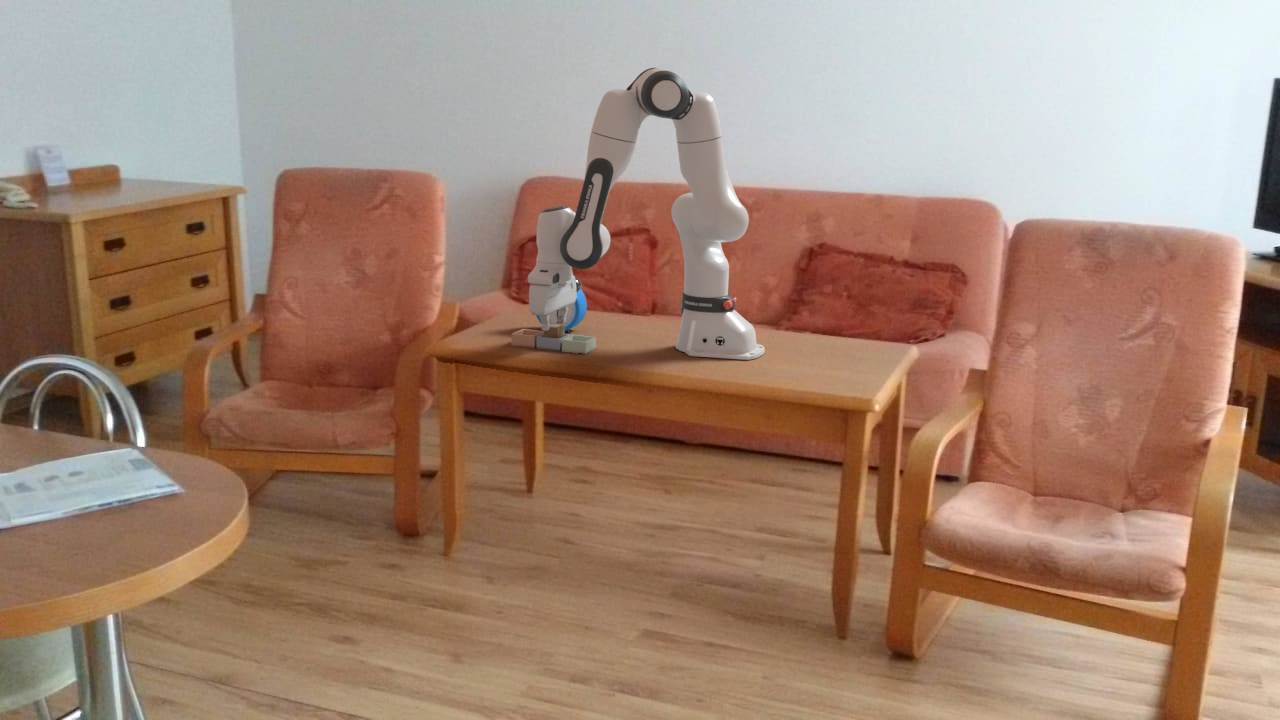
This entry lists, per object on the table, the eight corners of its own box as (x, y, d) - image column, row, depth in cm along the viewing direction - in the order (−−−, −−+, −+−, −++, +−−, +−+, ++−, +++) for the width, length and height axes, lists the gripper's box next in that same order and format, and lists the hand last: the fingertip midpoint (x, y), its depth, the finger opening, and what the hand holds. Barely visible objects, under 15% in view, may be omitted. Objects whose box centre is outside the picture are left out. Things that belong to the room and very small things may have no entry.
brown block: (550, 342, 286) (550, 323, 285) (564, 344, 285) (564, 324, 283) (543, 346, 282) (543, 326, 281) (557, 347, 281) (557, 328, 280)
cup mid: (570, 345, 285) (570, 334, 285) (559, 351, 280) (559, 339, 279) (547, 343, 288) (547, 331, 287) (536, 348, 282) (536, 336, 281)
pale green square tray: (595, 348, 283) (596, 337, 282) (585, 354, 277) (585, 342, 277) (572, 346, 285) (572, 334, 285) (561, 351, 279) (562, 339, 279)
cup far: (545, 342, 288) (545, 331, 287) (534, 348, 282) (534, 336, 281) (523, 340, 290) (523, 328, 289) (511, 345, 284) (511, 333, 284)
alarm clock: (533, 330, 301) (533, 275, 298) (543, 325, 307) (543, 271, 303) (578, 335, 297) (579, 279, 294) (587, 330, 303) (588, 275, 299)
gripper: (560, 264, 289) (560, 317, 293) (524, 277, 271) (524, 333, 274) (583, 267, 287) (582, 320, 291) (548, 279, 269) (547, 336, 272)
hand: (553, 326), depth 282 cm, fingers open, 7 cm apart
